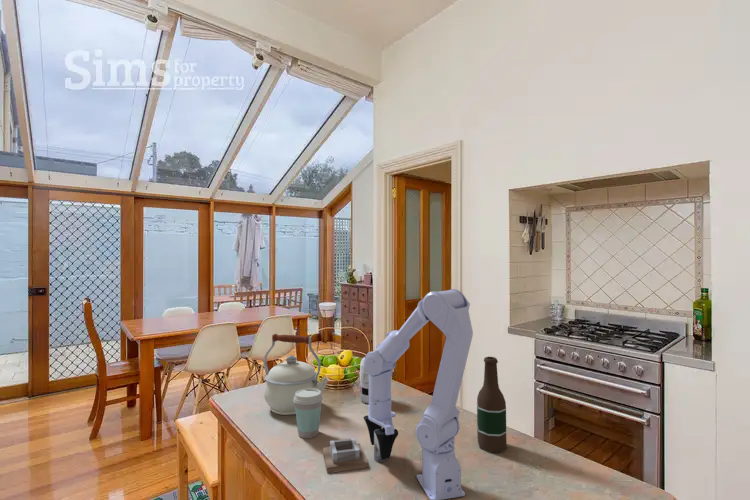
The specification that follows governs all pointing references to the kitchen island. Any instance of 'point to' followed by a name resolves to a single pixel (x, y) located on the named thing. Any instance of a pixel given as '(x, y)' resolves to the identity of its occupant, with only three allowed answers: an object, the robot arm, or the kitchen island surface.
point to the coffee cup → (308, 411)
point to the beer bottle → (491, 411)
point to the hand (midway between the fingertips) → (380, 451)
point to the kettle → (289, 377)
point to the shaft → (377, 449)
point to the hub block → (344, 456)
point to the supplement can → (364, 383)
